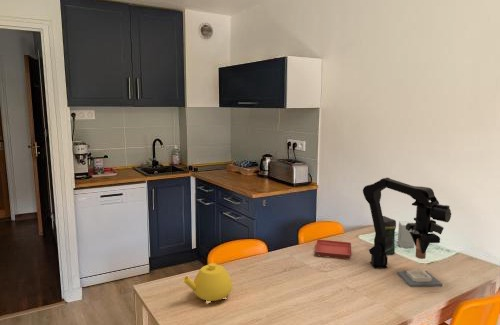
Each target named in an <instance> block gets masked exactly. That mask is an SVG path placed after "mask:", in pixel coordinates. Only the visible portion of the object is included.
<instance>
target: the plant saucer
mask: <svg viewBox="0 0 500 325" xmlns="http://www.w3.org/2000/svg"><path fill="white" fill-rule="evenodd" d="M352 251H353V250H352V243H351V242H348V241H338V240H327V239H326V240H325V239H317V240H316V244H315V250H314V252H315V253H316V255H318V256H319V255H320V256H319V257H325V256H329V257H328V258H335V257H338V259H346V258H348V259H349V258H350V257H351V256H352V255H353V252H352Z"/></svg>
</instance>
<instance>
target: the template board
mask: <svg viewBox="0 0 500 325" xmlns="http://www.w3.org/2000/svg"><path fill="white" fill-rule="evenodd" d="M396 274H397V275H398V276H399V278H401V279H402V281H404V283H405V284H407V286H409V288H417V287H419V288H420V287H427V288H428V287H443V283H442V282H441V281H440V280H438V279H437V278H436V277H435V276H433V275H432V273H430V272H429V271H428V270H421V269H420V270H418V269H416V270H415V269H414V270H413V269H412V270H411V269H410V270H405V271H402V270H401V271H397V270H396Z"/></svg>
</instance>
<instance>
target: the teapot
mask: <svg viewBox="0 0 500 325" xmlns="http://www.w3.org/2000/svg"><path fill="white" fill-rule="evenodd" d="M182 281H183V283H185V284H186V285H187V286H188V287H189V288H190V289H191V290H192V291H193V292H194V295H195V296H197V297H198V298H199V299H201V300H204V301H205V300H207V301H212V302H213V301H214V302H215V301H219V300H221V299H223V298H225V297H227V296H229V294H230V293H231V292H232V290H233V283H232V279H231V276H230V274H229V273H228V271H227V270H226V269H225V267H224V266H222V265H221V264H217V263H215V262H211V263H208V264H206V265H204V266H202V267H201V268H200V269H199V271H198V272H197V273H196V276H195V278H194V280H192V279H191V278H190V277H189V276H188V275H187V276H184V277H183V280H182Z"/></svg>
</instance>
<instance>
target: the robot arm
mask: <svg viewBox="0 0 500 325" xmlns="http://www.w3.org/2000/svg"><path fill="white" fill-rule="evenodd" d="M386 188H387V189H388V190H389V189H390V190H391V191H392V190H393V191H396V192H399V193H401V194H404V195H407V196H410V197H411V198H412V199H413V200H415V201H414V202H413V203H411V206H413V207H414V206H415V207H416V212H415V217H413V221H415V222H413V223H408V224H407V225H406V230H408V231H410V229H411V232H410V234H411V236H412V239H413V241H414V247H416V242H417V238H421V239H418V240H419V244H420V248H421V252H422V254H424V253H425V252H426V253H427V249H428V247H429V246H430V244H440V243H441V237H440V236H438V235H437V234H439V235H442V233H443V230H444V229H445V228H444V227H443V226H442V225H440V224H438V223H437V221H440V222H444V223H449V222H450V220H451V217H452V211H451V208H450V207H451V206H450V205H447V204H446V205H444V204H440V202H439V200H438V199H437V197H436V195H435V193H434V190H433V188H430V187H427V186H418V185H417V186H415V185H411V184H407V183H405V182H402V181H400V180H396V179H393V178H391V177H384V178H383V177H382V178H381V179H380V180H378V181H375V182H374V183H372V184H368V185H365V186H364V187H363V188H362V193H363V197H364V199H365V200H366V202H367V203H368V205H369V208H370V214H371V218H372V223H373V227H374V233H375V234H374V238H373V245H374V246H372V247H370V248H369V249H368V251H369V255H371V259H370V260H371V261H369V263H370V265H371V266H372V267H373V268H374V269H388V260H389V259H388V256H387V255H388V254H386V253H387V252H388V251H389V250H390V249H391V248H392V247H393V241H392V235H388V234H387V233H386V229H385V225H384V220H383V216H384V215H383V211H382V207H381V200H382V199H381V198H382V191H383V190H385V189H386ZM433 232H435V233H433ZM436 233H437V234H436Z"/></svg>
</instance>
